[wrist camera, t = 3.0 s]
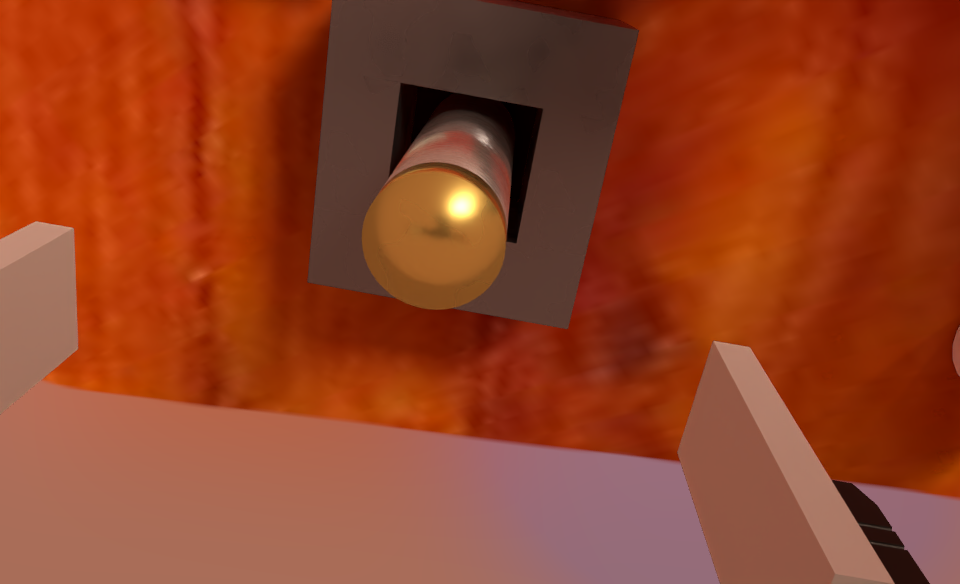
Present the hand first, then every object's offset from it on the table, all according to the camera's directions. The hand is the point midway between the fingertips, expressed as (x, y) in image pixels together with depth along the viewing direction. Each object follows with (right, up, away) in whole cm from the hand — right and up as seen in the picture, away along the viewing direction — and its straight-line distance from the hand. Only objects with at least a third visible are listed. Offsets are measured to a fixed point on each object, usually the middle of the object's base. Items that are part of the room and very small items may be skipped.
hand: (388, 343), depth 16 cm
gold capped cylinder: (+2, +8, +19) cm, 21 cm away
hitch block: (+2, +8, +19) cm, 21 cm away
